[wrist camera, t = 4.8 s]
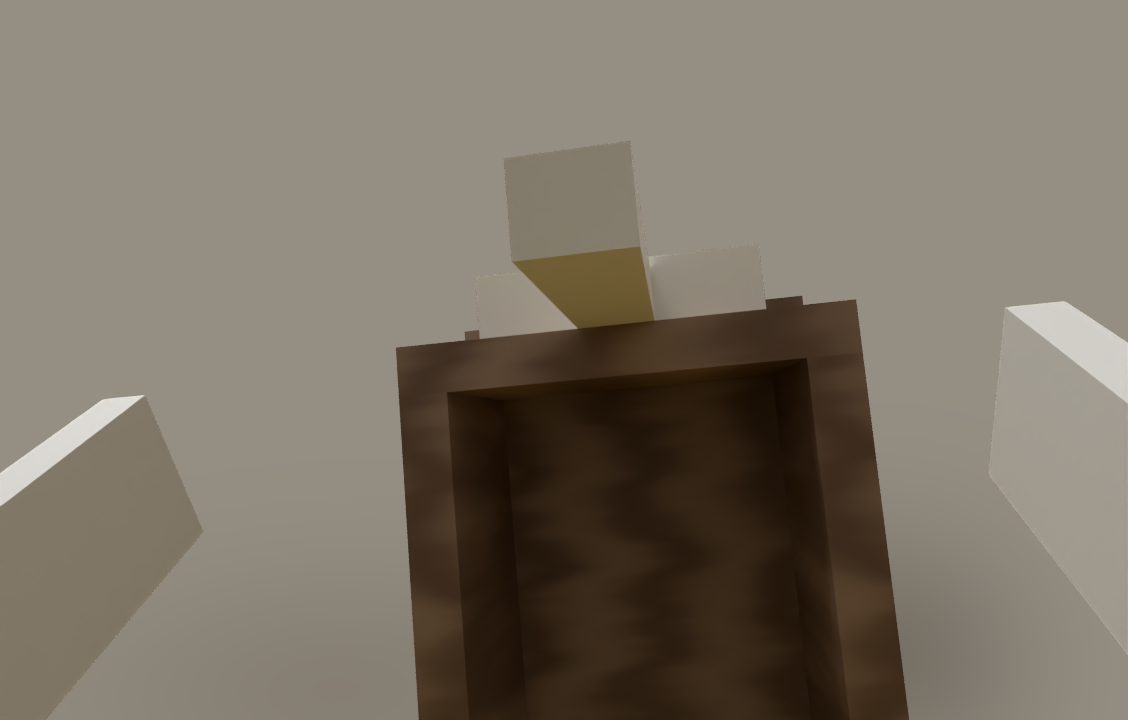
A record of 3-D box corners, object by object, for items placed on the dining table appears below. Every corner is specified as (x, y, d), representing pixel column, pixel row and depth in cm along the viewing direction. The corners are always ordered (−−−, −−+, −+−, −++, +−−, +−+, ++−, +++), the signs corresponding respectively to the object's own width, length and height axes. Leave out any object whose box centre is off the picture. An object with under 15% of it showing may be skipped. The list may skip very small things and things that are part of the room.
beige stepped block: (329, 283, 18) (324, 164, 18) (518, 361, 40) (514, 306, 40) (845, 221, 16) (829, 91, 17) (747, 338, 38) (741, 281, 38)
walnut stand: (445, 1159, 27) (392, 299, 30) (515, 936, 39) (471, 335, 42) (968, 1187, 25) (849, 247, 28) (872, 940, 36) (797, 300, 40)
